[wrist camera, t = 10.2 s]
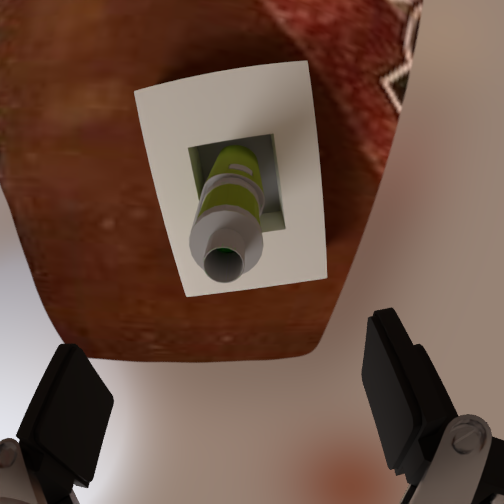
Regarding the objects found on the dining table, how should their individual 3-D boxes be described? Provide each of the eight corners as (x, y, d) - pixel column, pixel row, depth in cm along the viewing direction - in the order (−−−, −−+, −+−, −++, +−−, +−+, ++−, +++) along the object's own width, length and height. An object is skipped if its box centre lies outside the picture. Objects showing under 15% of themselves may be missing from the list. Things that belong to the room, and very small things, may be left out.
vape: (262, 150, 30) (288, 233, 12) (242, 206, 32) (238, 349, 14) (224, 138, 29) (189, 203, 11) (206, 196, 32) (158, 328, 14)
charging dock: (151, 90, 27) (134, 91, 23) (297, 65, 27) (307, 60, 22) (193, 269, 37) (186, 296, 32) (316, 252, 36) (327, 278, 31)
